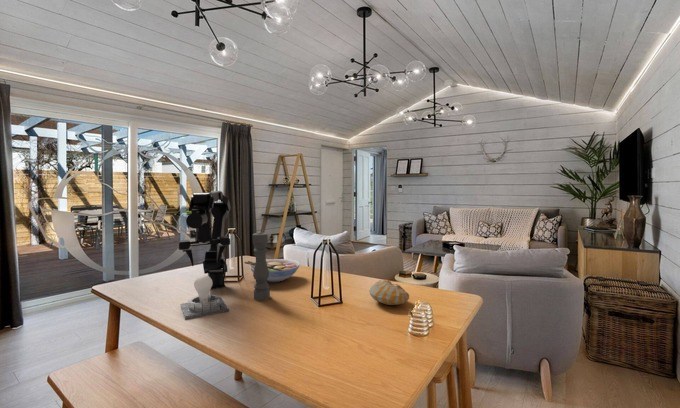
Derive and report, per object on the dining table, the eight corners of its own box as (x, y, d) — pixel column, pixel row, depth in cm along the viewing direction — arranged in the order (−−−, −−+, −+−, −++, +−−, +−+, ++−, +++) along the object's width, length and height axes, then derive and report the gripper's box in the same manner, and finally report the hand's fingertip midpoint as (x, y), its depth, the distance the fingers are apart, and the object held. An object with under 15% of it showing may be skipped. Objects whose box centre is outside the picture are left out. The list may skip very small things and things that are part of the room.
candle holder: (250, 299, 131) (248, 234, 130) (259, 294, 137) (258, 232, 135) (264, 301, 129) (262, 235, 127) (273, 296, 135) (271, 233, 133)
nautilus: (376, 291, 140) (414, 297, 135) (362, 306, 120) (405, 313, 115) (377, 272, 140) (415, 277, 135) (363, 284, 120) (407, 290, 115)
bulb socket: (220, 299, 132) (220, 290, 132) (228, 310, 120) (228, 301, 120) (180, 306, 125) (180, 297, 125) (185, 319, 113) (184, 309, 113)
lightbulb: (195, 310, 118) (194, 278, 118) (194, 304, 124) (192, 274, 123) (214, 306, 121) (213, 276, 121) (211, 301, 126) (210, 272, 126)
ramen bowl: (312, 279, 158) (312, 261, 157) (272, 291, 141) (271, 272, 140) (278, 270, 174) (277, 255, 174) (238, 281, 157) (237, 263, 157)
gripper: (223, 221, 145) (225, 257, 147) (175, 224, 136) (177, 263, 137) (230, 223, 136) (231, 262, 137) (178, 227, 126) (180, 269, 127)
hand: (205, 264), depth 135 cm, fingers open, 9 cm apart
